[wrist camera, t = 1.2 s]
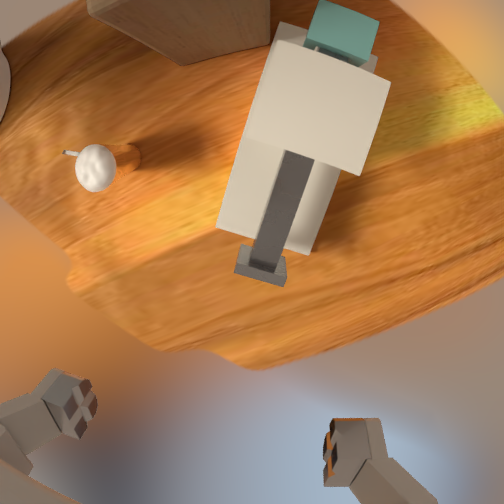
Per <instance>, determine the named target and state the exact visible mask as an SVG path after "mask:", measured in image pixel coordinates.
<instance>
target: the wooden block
mask: <svg viewBox="0 0 504 504" xmlns="http://www.w3.org/2000/svg"><path fill="white" fill-rule="evenodd" d="M86 2H87V10H88V13H89V15H90V16H91V17H93V18H95V19H97V20H99V21H101V22H103V23H105V24H107V25H109V26H111V27H113V28H115V29H117V30H119V31H120V32H122V33H124V34H126V35H128V36H130V37H132V38H134V39H135V40H137V41H139V42H141V43H143V44H144V45H146V46H148V47H150V48H152V49H153V50H155V51H157V52H159V53H160V54H162V55H164V56H165V57H167V58H169V59H170V60H172V61H174V62H175V63H177V64H179V65H180V66H185V65H188V64H192V63H195V62H198V61H202V60H205V59H209V58H213V57H217V56H220V55H224V54H228V53H232V52H237V51H241V50H245V49H250V48H255V47H260V46H265V45H268V44H269V43H270V0H86Z"/></svg>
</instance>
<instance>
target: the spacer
mask: <svg viewBox="0 0 504 504" xmlns="http://www.w3.org/2000/svg"><path fill="white" fill-rule="evenodd" d="M379 23H380V22H379V21H377V20H375V19H372V18H370V17H368V16H365V15H363V14H361V13H358V12H356V11H353V10H351V9H348V8H345V7H343V6H340V5H337V4H335V3H332V2H329V1H326V0H319V2H318V4H317V7H316V9H315V12H314V14H313V17H312V20H311V23H310V26H309V29H308V32H307V35H306V38H305V41H304V44H303V47H305V48H308V49H311V50H313V51H314V49H315V48H316V46H317V47H320V48H322V49H325V50H328V51H331V52H333V53H336V54H339V55H341V56H344V57H346V58H348V62H347V63H349V64H351V65H354V66H356V67H359V66H361V65H363V64H364V63H366V62H368V60H369V57H370V54H371V50H372V47H373V44H374V40H375V37H376V33H377V30H378V26H379Z"/></svg>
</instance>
